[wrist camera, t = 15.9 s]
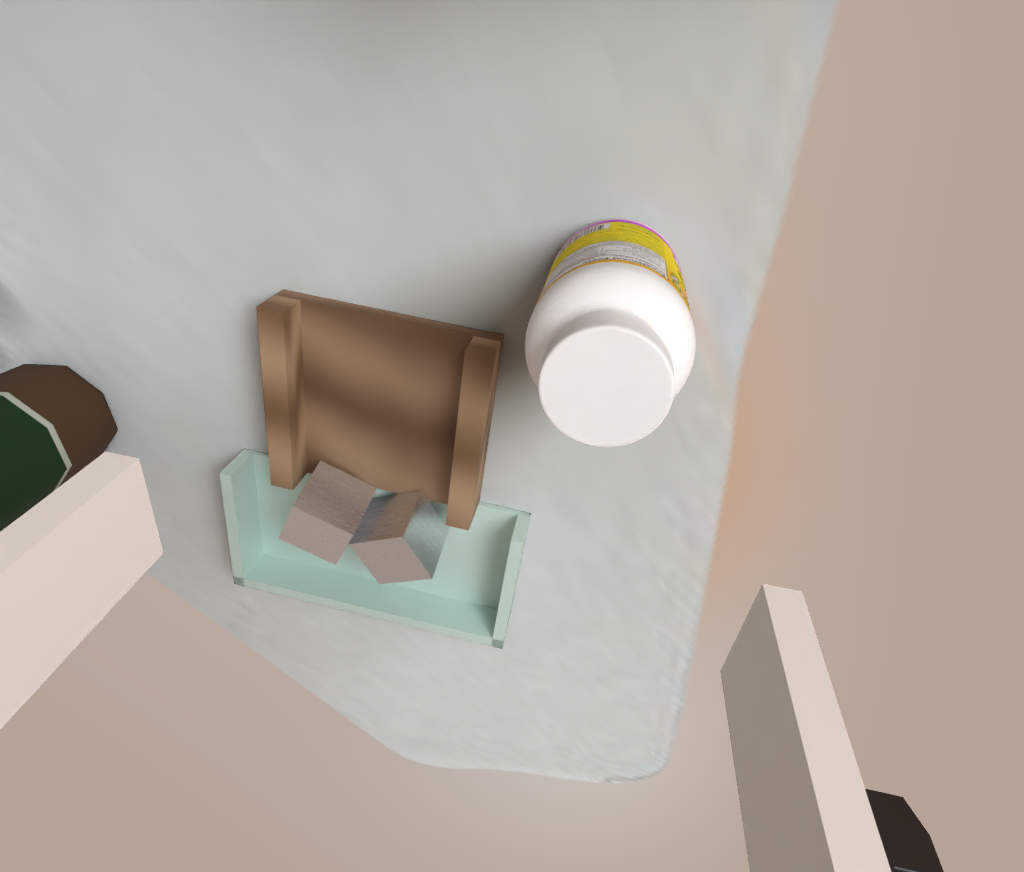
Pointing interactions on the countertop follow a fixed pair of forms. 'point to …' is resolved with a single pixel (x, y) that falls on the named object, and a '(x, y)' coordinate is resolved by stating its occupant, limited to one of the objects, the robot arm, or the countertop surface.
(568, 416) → the supplement bottle
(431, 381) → the slot board
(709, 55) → the countertop surface
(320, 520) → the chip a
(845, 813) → the robot arm
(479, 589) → the tray
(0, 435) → the beer bottle
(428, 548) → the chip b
